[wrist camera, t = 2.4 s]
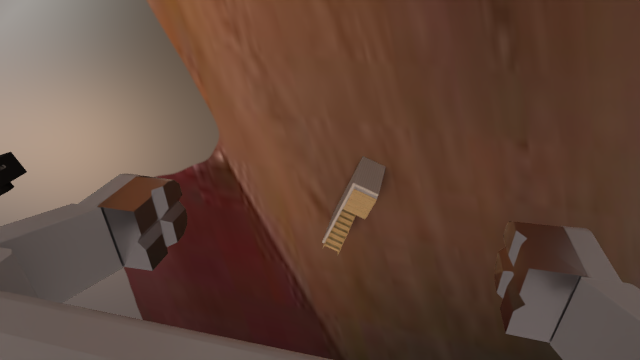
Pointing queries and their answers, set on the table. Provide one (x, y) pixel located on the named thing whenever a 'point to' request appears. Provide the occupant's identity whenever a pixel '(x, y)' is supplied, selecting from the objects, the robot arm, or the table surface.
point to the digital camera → (9, 171)
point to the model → (355, 201)
